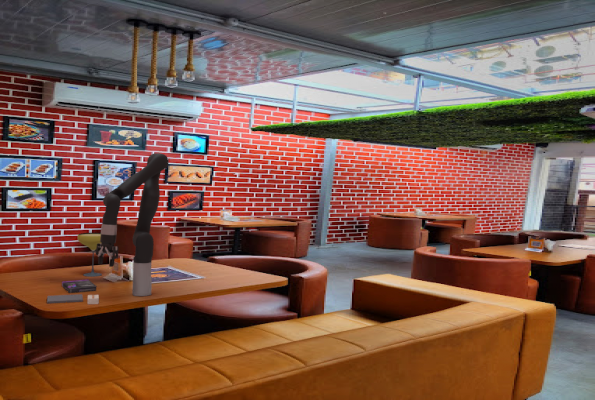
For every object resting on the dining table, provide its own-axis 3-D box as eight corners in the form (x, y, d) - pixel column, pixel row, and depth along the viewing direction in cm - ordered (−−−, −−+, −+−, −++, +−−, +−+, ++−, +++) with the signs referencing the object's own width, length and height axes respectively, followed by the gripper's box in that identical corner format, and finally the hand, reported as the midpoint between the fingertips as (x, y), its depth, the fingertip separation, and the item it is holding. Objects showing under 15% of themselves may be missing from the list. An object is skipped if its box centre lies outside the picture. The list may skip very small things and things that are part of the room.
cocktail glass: (102, 271, 339) (103, 232, 338) (112, 276, 325) (113, 235, 324) (72, 273, 328) (73, 233, 327) (82, 278, 314) (83, 236, 313)
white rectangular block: (87, 301, 264) (87, 294, 264) (98, 300, 266) (98, 294, 266) (87, 304, 257) (87, 298, 257) (98, 304, 259) (98, 298, 258)
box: (61, 287, 293) (68, 294, 277) (61, 281, 293) (68, 287, 277) (88, 285, 301) (96, 291, 285) (88, 279, 301) (96, 285, 285)
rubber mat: (82, 296, 272) (82, 294, 272) (83, 301, 261) (83, 299, 261) (47, 297, 266) (47, 295, 266) (47, 303, 255) (47, 301, 255)
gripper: (124, 235, 269) (121, 267, 269) (105, 231, 276) (102, 263, 276) (111, 235, 262) (108, 267, 262) (93, 231, 270) (90, 263, 270)
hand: (105, 265), depth 269 cm, fingers open, 8 cm apart
